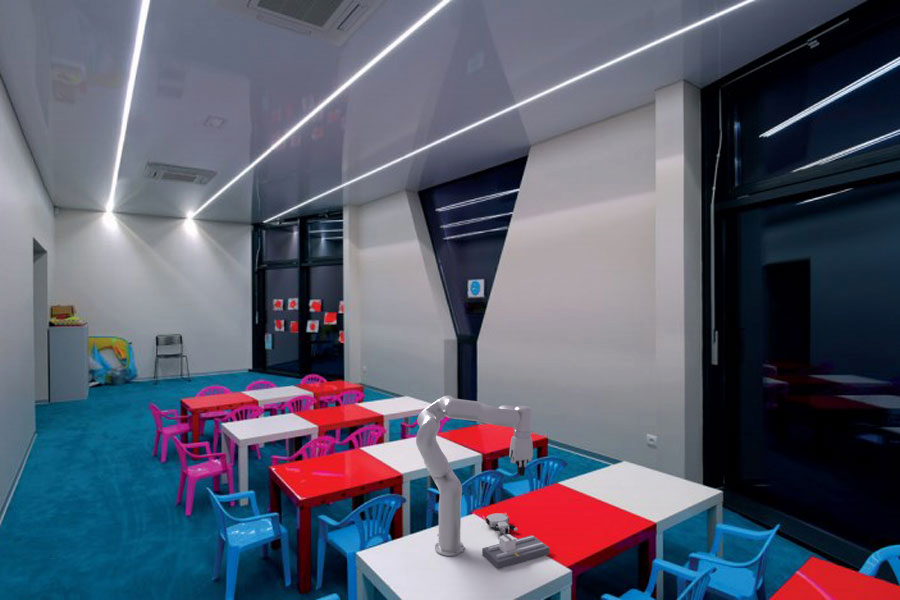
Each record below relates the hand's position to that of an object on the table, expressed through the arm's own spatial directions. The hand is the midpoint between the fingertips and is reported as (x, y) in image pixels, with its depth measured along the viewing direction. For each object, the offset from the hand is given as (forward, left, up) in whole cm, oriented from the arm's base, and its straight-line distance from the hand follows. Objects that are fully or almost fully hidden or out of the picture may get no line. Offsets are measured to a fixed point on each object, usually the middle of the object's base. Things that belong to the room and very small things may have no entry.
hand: (520, 474), depth 214 cm
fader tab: (+9, -13, -26) cm, 31 cm away
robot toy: (-14, -2, -30) cm, 33 cm away
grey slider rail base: (+9, -9, -30) cm, 32 cm away
